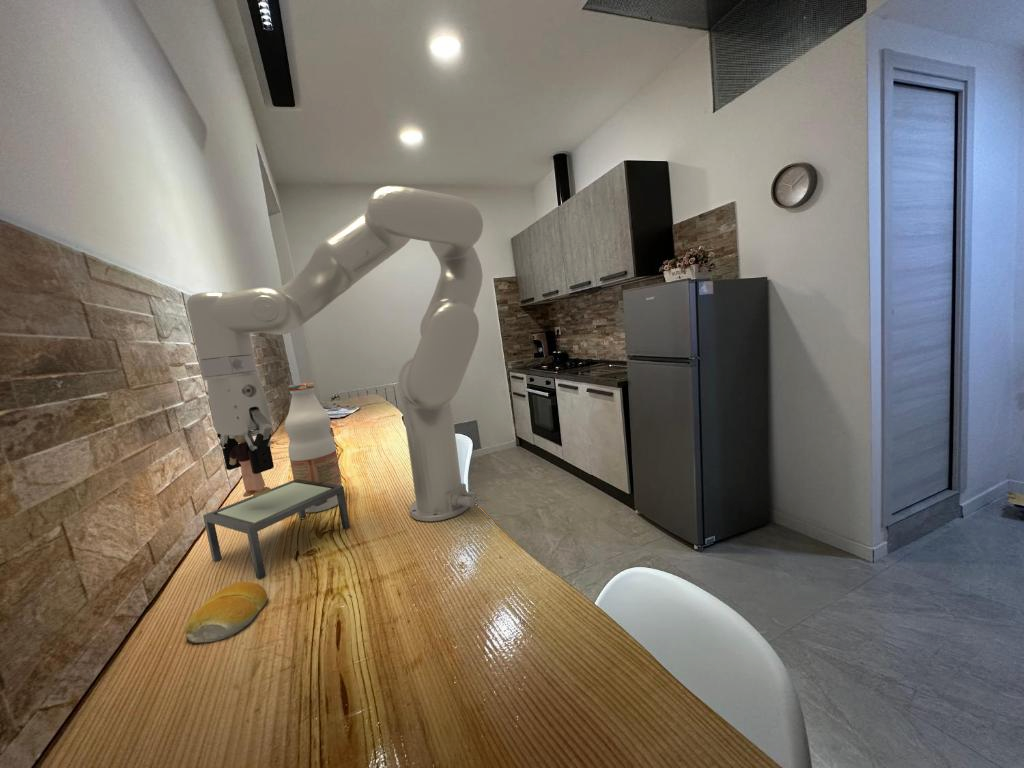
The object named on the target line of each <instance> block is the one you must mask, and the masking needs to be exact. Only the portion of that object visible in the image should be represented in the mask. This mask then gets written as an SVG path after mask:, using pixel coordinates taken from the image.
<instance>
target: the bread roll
mask: <svg viewBox="0 0 1024 768" xmlns="http://www.w3.org/2000/svg"><path fill="white" fill-rule="evenodd" d="M268 599H269V598H268V593H267V591H266V589H265V587H263V586H262V585H261V584H259V583H256V582H253V581H238V582H235V583H231V584H229V585H227V586H225V587H224V588H222V589H220V590H219V591H217V592H215V593H213V594H212V595H211V596H210V597H208V598H207V599H206V600H205V601H204V602H203V603H202V605H200V607H199V608H198V609H197V610H196V611H195V612H194V613H193V614H192V615H190V617H189V618H188V620H187V623H186V625H185V628H184V629H185V630H184V633H185V638H186V639H187V640H188V641H190V642H192V643H194V644H202V643H204V644H205V643H212V642H217V641H221V640H224V639H227V638H229V637H230V636H233V635H234V634H236V633H237V632H239V631H241V630H242V629H244V628H245V627H247V626H248V625H249V624H250V623H251V622H252V621H253V620H254V618H256V616H257V615H259V612H260V611H262V609H263V608H264V606H265V605H266V602H267V601H268Z"/></svg>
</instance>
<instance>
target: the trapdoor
mask: <svg viewBox="0 0 1024 768" xmlns="http://www.w3.org/2000/svg"><path fill="white" fill-rule="evenodd" d="M331 489H332V488H326V487H320V486H314V485H308V484H301V483H295V482H294V483H291V484H289V485H286V486H284V487H281V488H278V489H276V490H273V491H271V492H269V493H267V494H264V495H261V496H258V497H256V498H253V499H251V500H248V501H246V502H243V503H240V504H238V505H235V506H233V507H230V508H228V509H225V510H223V511H220V512H218V513H217V515H219V516H223V517H226V518H230V519H234V520H237V521H241V522H244V523H248V524H252V525H253V524H256V523H258V522H260V521H262V520H264V519H267V518H269V517H271V516H273V515H276V514H278V513H280V512H282V511H285V510H287V509H289V508H291V507H293V506H296V505H298V504H300V503H302V502H305V501H307V500H309V499H311V498H313V497H316V496H318V495H320V494H322V493H325V492H327V491H329V490H331ZM326 502H327V499H326V500H324V501H322V502H320V503H318V504H315V505H314V506H320V505H322V504H324V503H326Z"/></svg>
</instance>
